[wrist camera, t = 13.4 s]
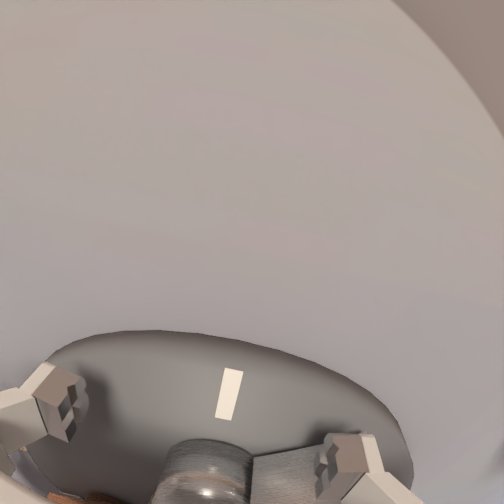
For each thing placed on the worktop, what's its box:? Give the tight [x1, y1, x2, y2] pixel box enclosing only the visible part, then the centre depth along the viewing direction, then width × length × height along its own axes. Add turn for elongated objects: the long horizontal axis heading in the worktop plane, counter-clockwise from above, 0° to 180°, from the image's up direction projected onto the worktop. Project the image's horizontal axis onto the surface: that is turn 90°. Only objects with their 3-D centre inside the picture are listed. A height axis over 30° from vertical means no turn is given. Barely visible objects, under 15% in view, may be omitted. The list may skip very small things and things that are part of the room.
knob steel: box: [152, 432, 367, 504], centre depth 9 cm, size 8×4×3 cm, turn 111°
